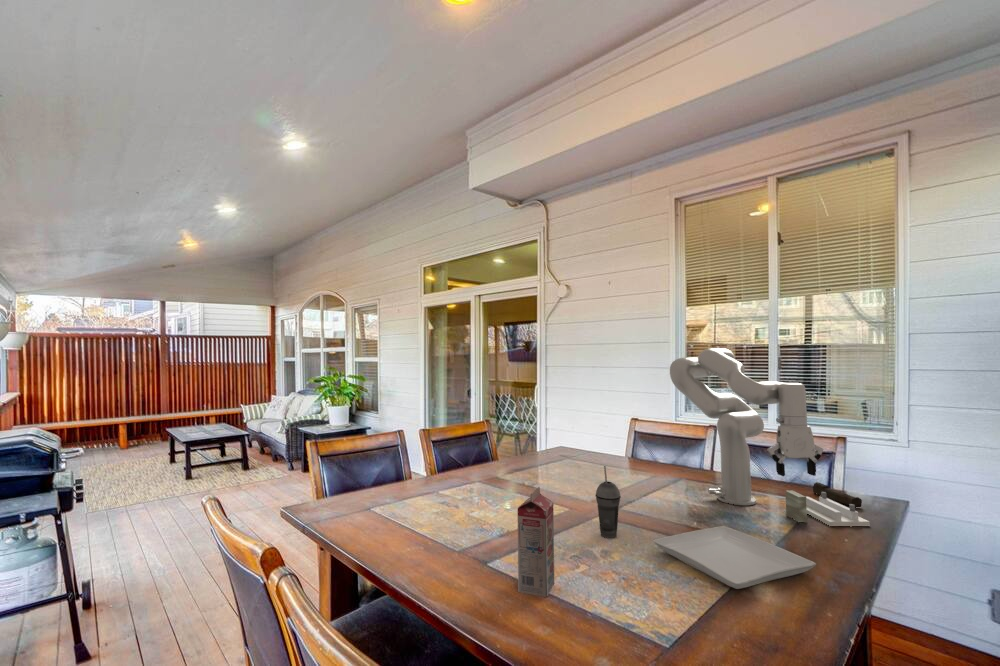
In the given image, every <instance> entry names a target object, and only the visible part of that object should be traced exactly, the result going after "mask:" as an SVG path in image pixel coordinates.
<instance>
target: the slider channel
mask: <svg viewBox="0 0 1000 666" xmlns="http://www.w3.org/2000/svg"><path fill="white" fill-rule="evenodd" d="M821 495H822V497H821V496H818V500H817V499H814V498H812V497H810V496H805V497H806V507H807V514H809V515H811V516H812V517H811V516H810V517H811V518H813V517H814V519H815V518H816V519H815V520H817V519H818V520H817V521H819V520H820V521H819V522H821V521H822V522H823V523H822V522H821V523H822V524H824V523H825V524H824V525H826V524H827V526H828V525H829V526H828V527H830V526H850V528H851V527H852V526H870V525H871V524H870V523H871V521H870V520H867V519H865V518H862V517H861V516H859V512H858V511H857V510H856V509H855V505H853V504H849V506H846V505H843V504H842V503H840V502H838V501H836V500H833V499H830V498H828V497H827V496H826V492H821ZM809 515H808V516H809ZM852 528H853V527H852Z"/></svg>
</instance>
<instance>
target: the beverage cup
mask: <svg viewBox="0 0 1000 666" xmlns="http://www.w3.org/2000/svg"><path fill="white" fill-rule="evenodd" d="M603 472H604V481H603V482H601V483H600V484H598V486H597V489H596V490H595V491H596V492H595V500H596V503H597V511H598V512H597V513H598V522H599V532H600V536H601V538H603V537H604V539H608V540H609V539H611V540H613V539H616V538H617V534H618V525H619V524H618V523H619V509H620V501H621V498H622V497H621V492H620V489H619V488H618V486H617V485H616V484H615V483H613V482H611V481H608V479H607V478H608V477H607V476H608V475H607V466H606V465H604V466H603Z"/></svg>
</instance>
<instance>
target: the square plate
mask: <svg viewBox="0 0 1000 666" xmlns="http://www.w3.org/2000/svg"><path fill="white" fill-rule="evenodd" d="M652 542H653V543H654V544H655V545H656V546H657V547H658V548H659V549H660V550H661V551H663V552H665V553H666V554H668V555H671V556H672V557H674V558H676V559H678V560H680V561H681V562H683V563H685V564H686V565H688V566H691V567H692V568H695V569H696V570H698V571H700V572H702V573H704V574H705V575H707V576H709V577H711V578H713V579H715V580H717V581H718V582H720V583H723V584H725V585H727V586H728V587H730V588H733V589H736V590H740V589H744V588H748V587H752V586H755V585H758V584H762V583H766V582H770V581H774V580H778V579H782V578H786V577H791V576H795V575H799V574H802V573H805V572H807V571H810V570H812V569H813V568H814V567H815V566H817V563H816V562H814V561H812V560H810V559H808V558H805V557H803V556H800V555H798V554H796V553H793V552H791V551H789V550H786V549H784V548H783V547H780V546H777V545H775V544H772V543H770V542H767V541H765V540H763V539H760V538H758V537H755V536H752V535H749V534H747V533H744V532H741V531H739V530H737V529H736V530H735V529H734V528H732V527H728V526H725V525H721V526H716V527H710V528H703V529H697V530H693V531H688V532H683V533H682V532H681V533H678V534H673V535H669V536H668V535H667V536H665V537H661V538H655V539H653V540H652Z"/></svg>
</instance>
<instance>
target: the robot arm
mask: <svg viewBox="0 0 1000 666" xmlns="http://www.w3.org/2000/svg"><path fill="white" fill-rule="evenodd" d="M745 369H746V368H745V366H744V364H743V363H741V362H740V361H738V360H736V357H735V354H734V353H733V352H732V351H731V350H729V349H728V348H723V347H722V348H719V347H717V348H716V347H715V348H711V347H709V348H705V349H703V350H701V351H700V353H699V354H698V355H697V356H694V357H693V356H692V357H691V356H689V357H687V356H686V357H685V356H684V357H680V358H676V359H674V360H673V361H672V363H671V364H670V366H669V376H670V379H671V382H672V384H673V385H674V387H675V388H676V389H677V390H678V391H679V392H680V393H682V395H684V396H686V398H687V399H688V400H690V402H691V403H692V404H694V405H695V406H696V407H697V408H698V409H699V410H700V411H701V412H702V414H704V415H705V416H706V417H708V418H710V419H718V420H717V423H716V430H717V434H718V439H719V447H720V448H719V449H720V469H721V470H720V472H721V474H720V475H721V480H720V481H721V485H718V487H716V488H708V489H707V492H708V495H714V496H716V497H717V500H718V501H720V502H723V503H725V504H728V503H729V505H733V504H734V505H735V506H752V505H756V504H757V499H756V498H755V496H753V495H752V479H751V473H752V472H751V455H750V454H751V453H750V452H751V451H750V448H749V445H748V442H747V438H753V437H757V436H759V435H761V434H762V433H763V431H764V430H765V429H764V427H765V424H764V420H763V418H762V417H761V415H760V414H759V413H758V412H757V411H756V410H755V409H754V408H752V407H751V406H750V405H749V404H747V402H748V403H751V404H753V405H756V406H759V405H760V406H761V405H762V406H763V405H775V404H778V406H779V407H778V408H779V411H778V412H779V417H776V418H775V421H776V423H779V424H778V426H777V431H776V443H775V444H773V445H771V446H770V447H768V448H767V449H766V451H767V453H768V455H769V457H770V458H771V459H772V461H774V462H775V468H776V471H775V472H776V473H777V475H779V476H781V477H785V476H786V470H785V469H786V468H785V463H784V461H785V460H786V458H787V459H807V461H806V470H807V474H808V475H810V476H813V477H816V473H817V466H816V465H817V463H818V461H819V460H820V459H821V457H822V454H823V452H824V448H823V447H820V446H818V445H817V444H815V438H814V436H813V431H812V426H811V425H808V412H807V397H806V396H807V395H806V393H807V392H806V386H805V385H804V384H803V383H801V382H800V383H799V382H781V381H756V380H754V379H752V378H751V377H748V376H746V375H745ZM710 376H716V377H718V378H719V379H721V380H723V381H724V382H726V383H727V384H728V386H729V388H730V389H731V390H732V392H733V393H734V394H733V393H731V392H715V391H714V390H712V389H711V388H709V386H708V385H706V384H705V383H704V382H702V381H701V380H699V379H702V378H709V377H710ZM735 394H736V395H735ZM743 399H744V400H745V401H747V402H745V401H744V400H743ZM775 451H776V454H777V455H776V454H775Z"/></svg>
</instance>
